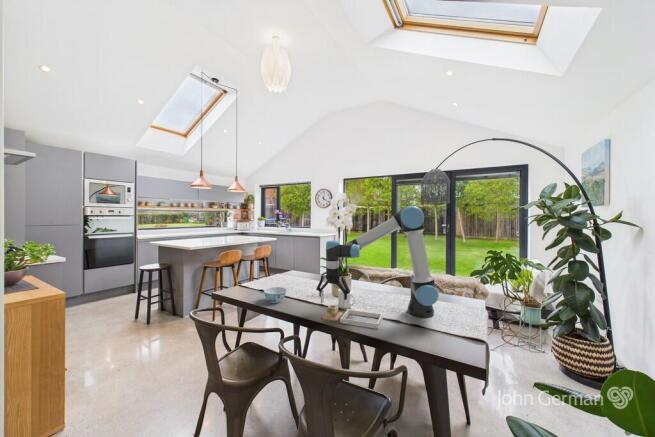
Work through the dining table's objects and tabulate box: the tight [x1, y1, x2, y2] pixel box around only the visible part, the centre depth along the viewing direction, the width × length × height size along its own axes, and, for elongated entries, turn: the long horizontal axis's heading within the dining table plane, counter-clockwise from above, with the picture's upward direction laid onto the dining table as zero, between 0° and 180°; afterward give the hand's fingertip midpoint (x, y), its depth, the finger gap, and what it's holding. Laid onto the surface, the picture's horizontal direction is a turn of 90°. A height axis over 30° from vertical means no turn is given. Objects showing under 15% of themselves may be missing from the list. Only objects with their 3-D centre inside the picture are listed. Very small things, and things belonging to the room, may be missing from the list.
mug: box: [337, 288, 356, 309], centre depth 173 cm, size 9×12×11 cm
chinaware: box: [263, 286, 287, 304], centre depth 183 cm, size 15×15×8 cm
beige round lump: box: [326, 304, 339, 317], centre depth 159 cm, size 5×5×5 cm
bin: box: [339, 308, 384, 330], centre depth 153 cm, size 21×15×2 cm
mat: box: [321, 311, 344, 322], centre depth 159 cm, size 9×12×1 cm
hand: (333, 303), depth 159 cm, fingers open, 13 cm apart
